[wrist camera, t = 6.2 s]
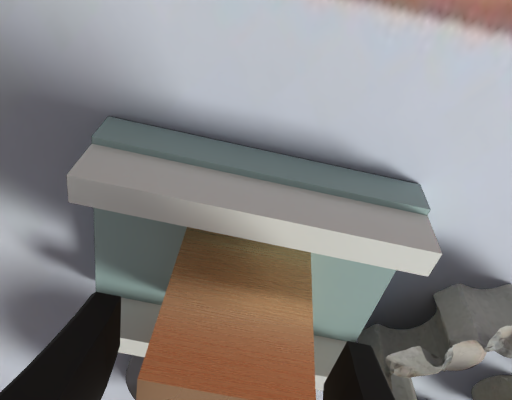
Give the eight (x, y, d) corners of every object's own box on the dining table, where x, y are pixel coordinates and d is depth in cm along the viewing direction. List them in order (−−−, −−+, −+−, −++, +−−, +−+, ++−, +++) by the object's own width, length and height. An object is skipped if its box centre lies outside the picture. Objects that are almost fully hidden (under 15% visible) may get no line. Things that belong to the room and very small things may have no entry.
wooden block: (282, 317, 15) (275, 483, 10) (179, 297, 14) (132, 458, 10) (310, 241, 12) (316, 411, 8) (190, 216, 12) (137, 379, 8)
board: (342, 331, 17) (349, 399, 14) (108, 285, 16) (78, 348, 14) (420, 184, 12) (446, 247, 10) (108, 116, 12) (66, 167, 10)
